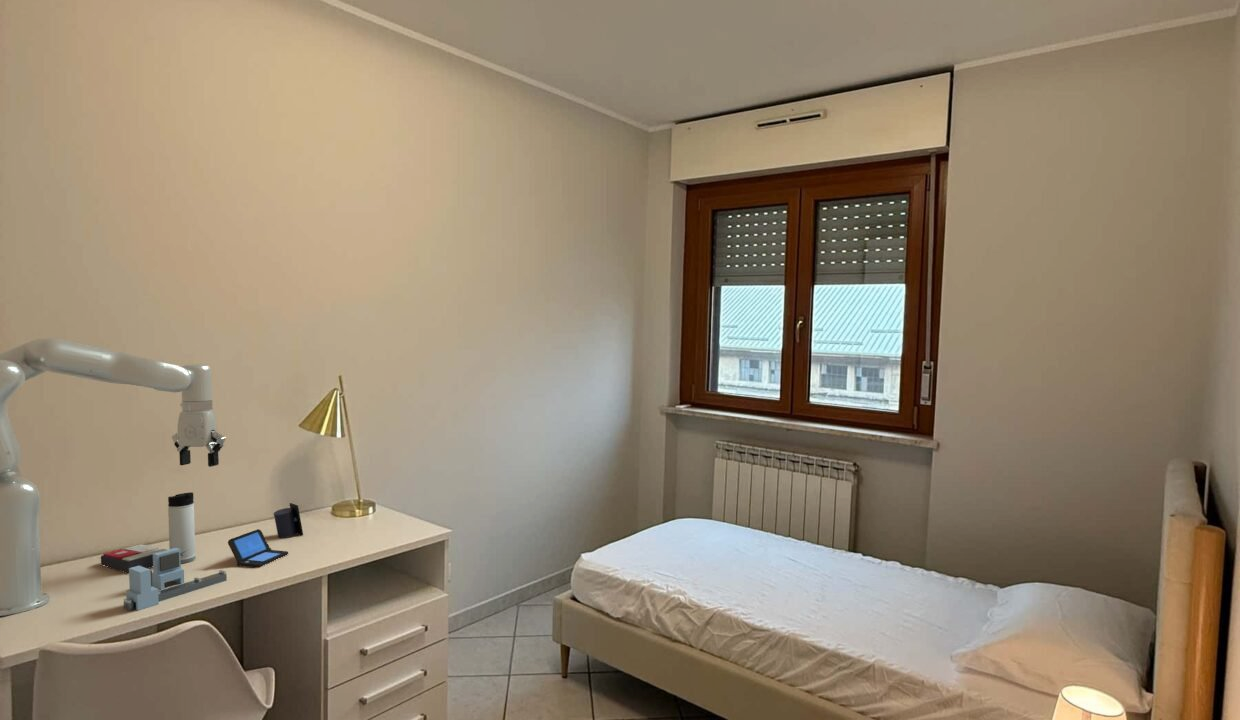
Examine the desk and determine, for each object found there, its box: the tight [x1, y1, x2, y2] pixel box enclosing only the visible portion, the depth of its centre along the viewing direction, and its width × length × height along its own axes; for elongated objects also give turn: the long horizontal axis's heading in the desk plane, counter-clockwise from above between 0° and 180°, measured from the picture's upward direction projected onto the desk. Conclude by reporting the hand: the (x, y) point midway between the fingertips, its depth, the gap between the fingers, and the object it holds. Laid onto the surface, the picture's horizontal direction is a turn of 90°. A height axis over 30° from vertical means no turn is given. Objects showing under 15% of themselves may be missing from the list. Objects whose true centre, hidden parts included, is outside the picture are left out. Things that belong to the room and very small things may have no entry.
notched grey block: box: [152, 548, 185, 591], centre depth 177 cm, size 6×4×9 cm
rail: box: [123, 569, 228, 612], centre depth 171 cm, size 23×2×3 cm, turn 149°
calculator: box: [100, 543, 168, 574], centre depth 194 cm, size 11×4×15 cm
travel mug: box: [167, 492, 196, 565], centre depth 196 cm, size 6×7×20 cm
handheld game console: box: [227, 528, 289, 568], centre depth 197 cm, size 12×11×7 cm
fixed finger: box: [125, 566, 159, 611], centre depth 164 cm, size 6×4×9 cm
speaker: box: [273, 502, 304, 539], centre depth 220 cm, size 8×6×10 cm
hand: (199, 465), depth 196 cm, fingers open, 9 cm apart
